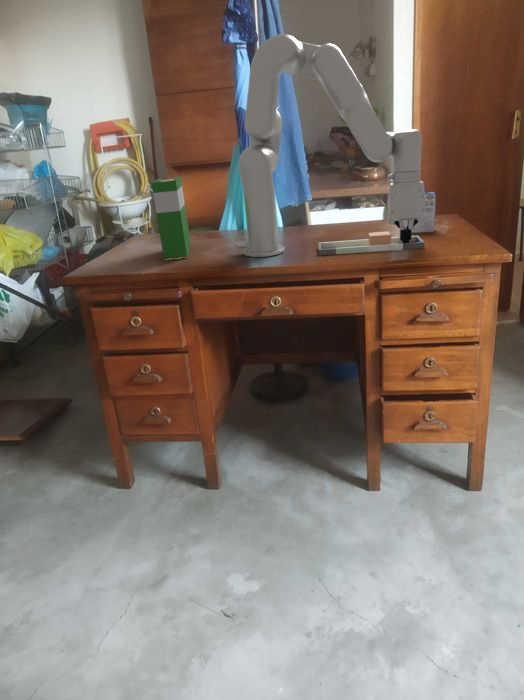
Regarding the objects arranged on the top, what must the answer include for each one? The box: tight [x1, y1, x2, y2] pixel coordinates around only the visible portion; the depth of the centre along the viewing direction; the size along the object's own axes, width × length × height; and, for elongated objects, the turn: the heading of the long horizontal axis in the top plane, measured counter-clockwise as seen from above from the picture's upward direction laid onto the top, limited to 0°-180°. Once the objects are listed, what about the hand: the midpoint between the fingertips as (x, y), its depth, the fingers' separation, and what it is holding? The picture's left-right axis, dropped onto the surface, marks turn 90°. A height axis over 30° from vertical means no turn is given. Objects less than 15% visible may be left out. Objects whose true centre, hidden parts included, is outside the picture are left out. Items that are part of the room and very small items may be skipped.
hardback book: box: [150, 175, 192, 260], centre depth 169 cm, size 18×7×24 cm, turn 3°
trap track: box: [318, 235, 426, 256], centre depth 153 cm, size 30×10×2 cm, turn 84°
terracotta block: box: [368, 231, 392, 246], centre depth 152 cm, size 6×5×4 cm
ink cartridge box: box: [403, 184, 437, 233], centre depth 168 cm, size 10×6×14 cm, turn 76°
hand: (405, 242), depth 152 cm, fingers closed
